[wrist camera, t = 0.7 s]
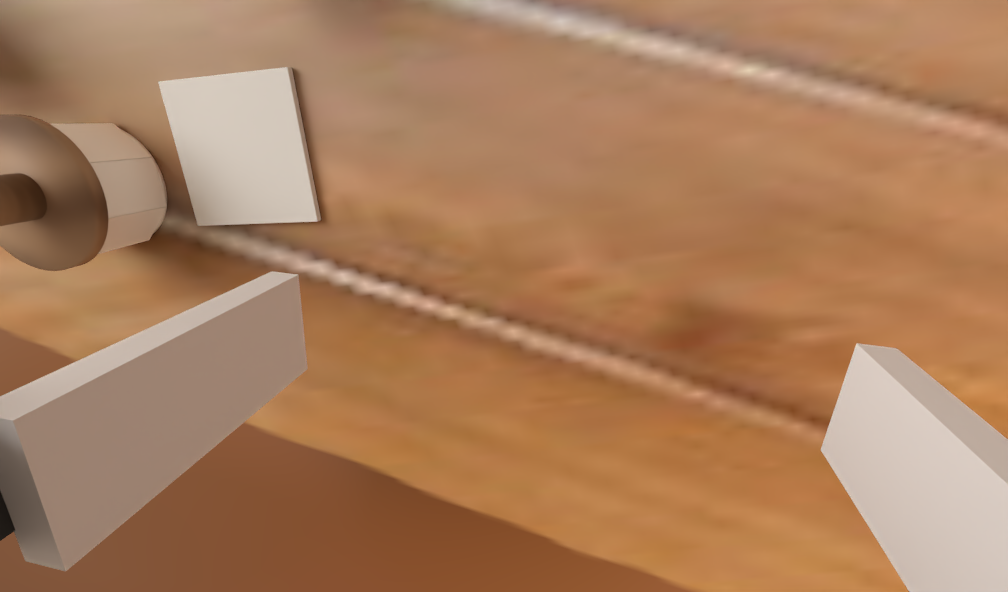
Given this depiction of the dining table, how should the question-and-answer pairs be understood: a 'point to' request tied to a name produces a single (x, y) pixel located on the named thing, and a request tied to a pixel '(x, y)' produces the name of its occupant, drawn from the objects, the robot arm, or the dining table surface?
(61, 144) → the lid
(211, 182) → the mat
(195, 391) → the robot arm
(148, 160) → the bowl
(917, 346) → the dining table surface
